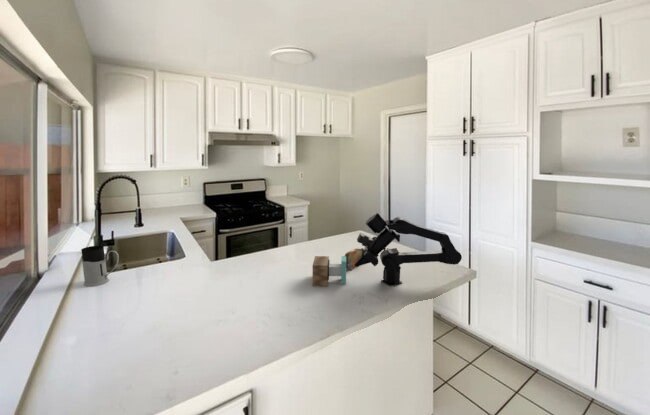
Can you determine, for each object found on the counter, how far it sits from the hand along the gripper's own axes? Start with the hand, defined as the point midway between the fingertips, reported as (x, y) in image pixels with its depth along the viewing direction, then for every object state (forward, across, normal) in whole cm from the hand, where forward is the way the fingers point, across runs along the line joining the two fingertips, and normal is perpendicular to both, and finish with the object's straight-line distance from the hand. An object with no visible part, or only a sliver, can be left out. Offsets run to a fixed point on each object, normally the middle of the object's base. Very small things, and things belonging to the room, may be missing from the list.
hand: (355, 265), depth 136 cm
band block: (+15, 0, -5) cm, 16 cm away
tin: (+5, -18, +5) cm, 20 cm away
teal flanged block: (+10, 0, -1) cm, 10 cm away
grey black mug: (+80, +8, -70) cm, 106 cm away
